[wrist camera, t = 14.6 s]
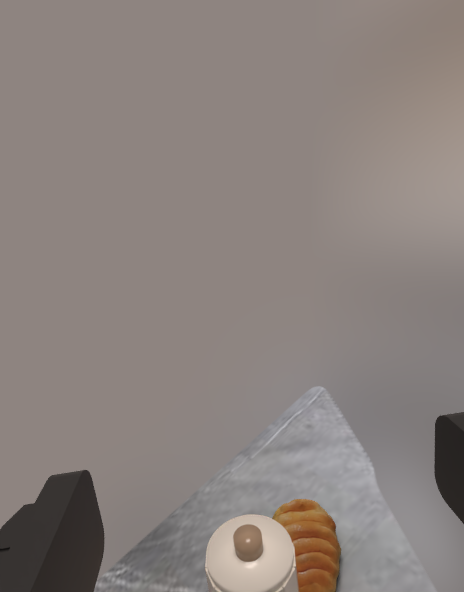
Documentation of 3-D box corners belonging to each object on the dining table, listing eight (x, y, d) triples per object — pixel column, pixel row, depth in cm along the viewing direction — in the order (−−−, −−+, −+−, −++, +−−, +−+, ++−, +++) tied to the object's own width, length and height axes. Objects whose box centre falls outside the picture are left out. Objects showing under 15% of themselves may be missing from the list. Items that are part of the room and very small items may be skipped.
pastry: (355, 614, 32) (353, 577, 31) (274, 618, 32) (269, 582, 32) (331, 522, 41) (329, 491, 40) (268, 526, 42) (264, 496, 41)
